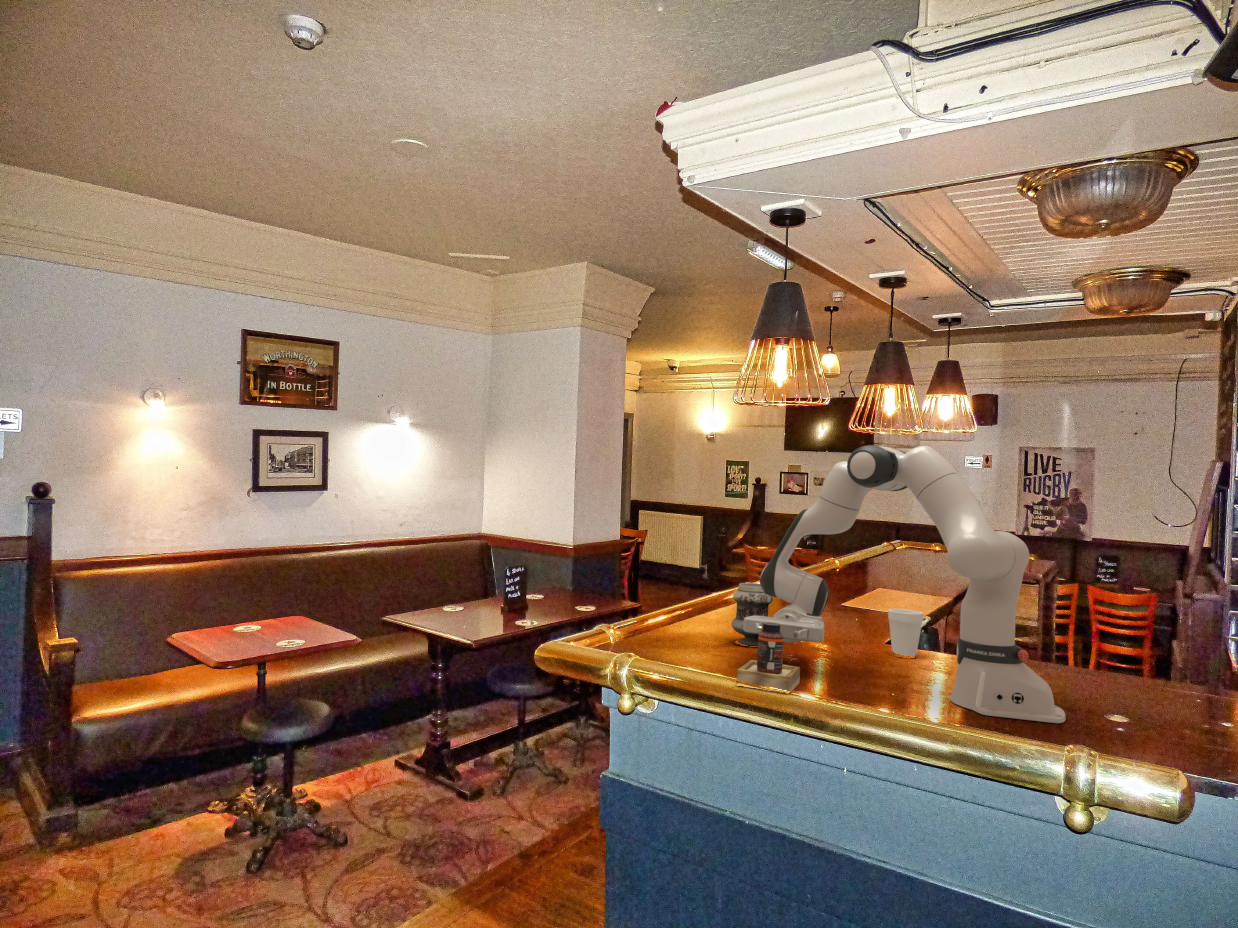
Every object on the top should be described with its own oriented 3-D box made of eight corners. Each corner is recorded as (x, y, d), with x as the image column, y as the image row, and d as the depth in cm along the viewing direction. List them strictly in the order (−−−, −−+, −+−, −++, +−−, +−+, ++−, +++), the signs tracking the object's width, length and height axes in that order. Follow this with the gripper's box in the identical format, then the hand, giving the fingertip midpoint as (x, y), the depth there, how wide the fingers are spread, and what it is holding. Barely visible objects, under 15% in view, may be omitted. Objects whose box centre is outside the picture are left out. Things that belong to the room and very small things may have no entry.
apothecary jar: (758, 639, 227) (761, 581, 227) (779, 648, 215) (781, 587, 216) (723, 640, 223) (726, 581, 224) (742, 649, 211) (745, 586, 212)
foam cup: (924, 661, 207) (925, 615, 208) (890, 658, 209) (891, 612, 210) (917, 654, 216) (919, 610, 217) (884, 651, 218) (886, 607, 219)
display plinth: (799, 682, 175) (800, 666, 175) (788, 694, 164) (789, 677, 165) (750, 675, 180) (751, 659, 181) (736, 685, 170) (737, 669, 170)
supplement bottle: (777, 675, 169) (779, 626, 169) (752, 671, 172) (754, 623, 172) (785, 671, 174) (787, 623, 174) (762, 667, 177) (764, 620, 177)
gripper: (750, 608, 197) (736, 614, 184) (828, 617, 188) (819, 625, 176) (749, 631, 197) (735, 639, 184) (827, 641, 188) (818, 651, 175)
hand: (777, 632), depth 180 cm, fingers open, 8 cm apart
